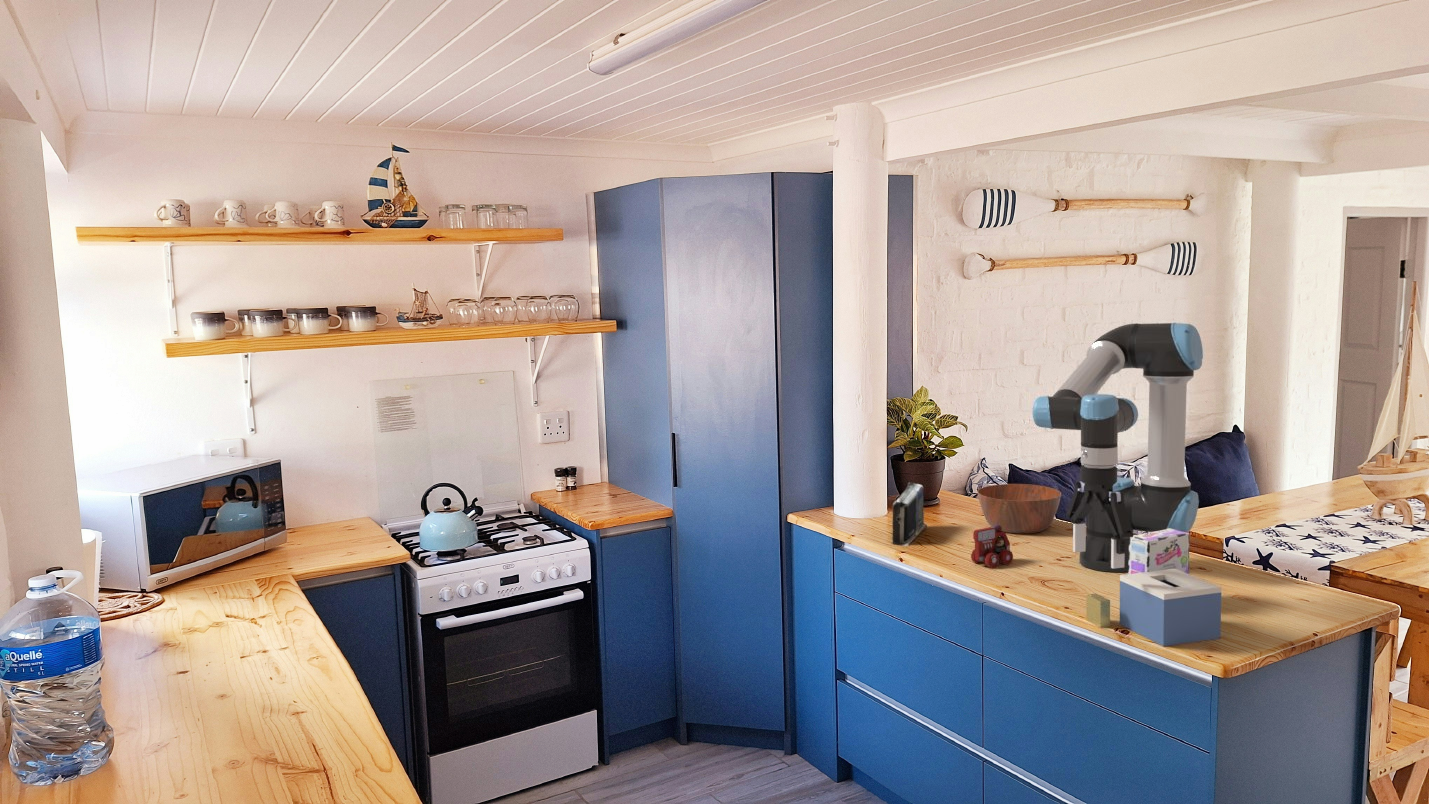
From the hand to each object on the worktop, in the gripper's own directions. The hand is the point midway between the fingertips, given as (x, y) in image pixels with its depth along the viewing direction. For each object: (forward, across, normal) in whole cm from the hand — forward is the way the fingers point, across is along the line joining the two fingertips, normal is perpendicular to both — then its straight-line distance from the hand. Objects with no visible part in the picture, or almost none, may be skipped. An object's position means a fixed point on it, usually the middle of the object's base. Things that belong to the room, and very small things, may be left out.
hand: (1097, 559), depth 207 cm
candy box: (+15, -8, +22) cm, 28 cm away
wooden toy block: (+15, 0, 0) cm, 15 cm away
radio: (+15, -83, -6) cm, 85 cm away
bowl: (+15, -80, +29) cm, 86 cm away
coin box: (+15, +9, +11) cm, 20 cm away
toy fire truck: (+15, -49, +2) cm, 51 cm away
